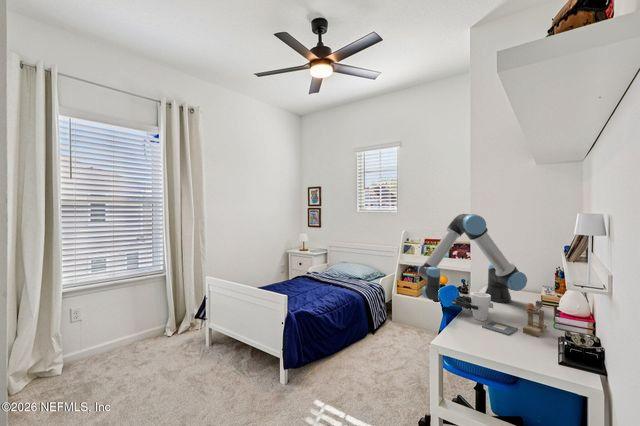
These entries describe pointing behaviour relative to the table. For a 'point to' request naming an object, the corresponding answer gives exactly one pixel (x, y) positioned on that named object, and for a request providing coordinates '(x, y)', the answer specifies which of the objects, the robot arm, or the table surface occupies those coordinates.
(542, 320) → the catapult
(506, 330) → the mat
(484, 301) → the foam cup
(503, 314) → the table surface
